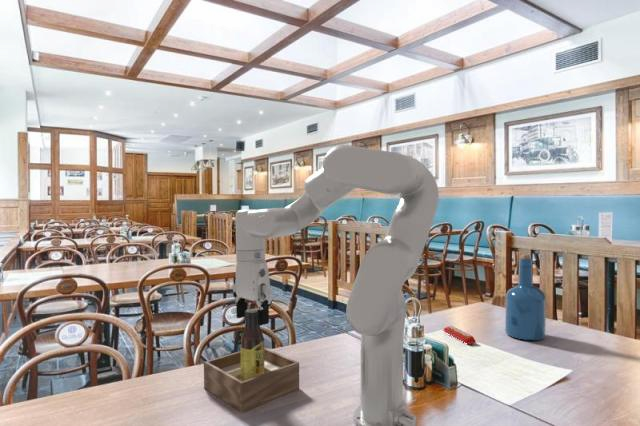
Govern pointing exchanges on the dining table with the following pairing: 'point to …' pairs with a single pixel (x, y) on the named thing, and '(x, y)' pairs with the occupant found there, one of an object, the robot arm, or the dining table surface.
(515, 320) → the wine bottle
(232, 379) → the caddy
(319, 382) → the dining table surface
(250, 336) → the sauce bottle
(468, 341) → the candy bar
